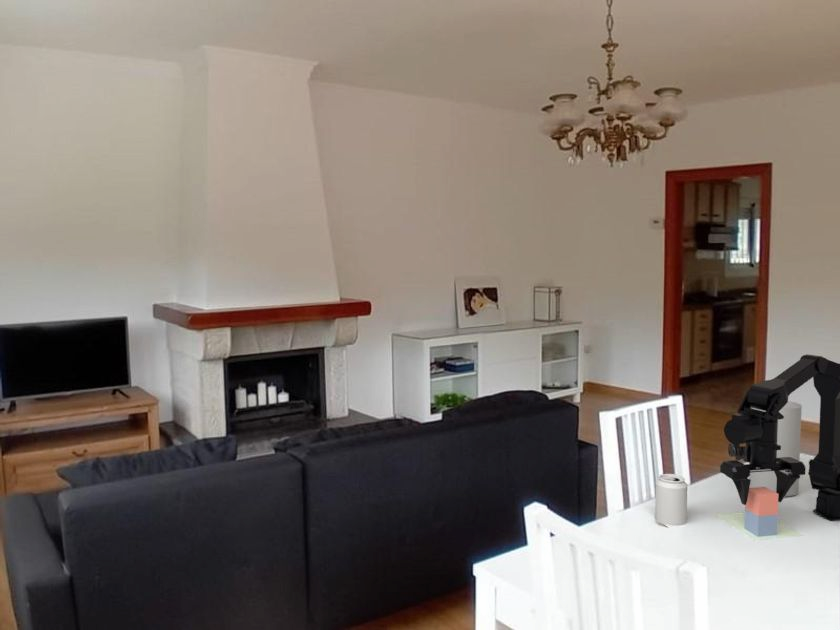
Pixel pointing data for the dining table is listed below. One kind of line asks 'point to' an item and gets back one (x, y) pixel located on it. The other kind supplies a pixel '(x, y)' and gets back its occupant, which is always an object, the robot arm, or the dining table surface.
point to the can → (671, 500)
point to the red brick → (762, 501)
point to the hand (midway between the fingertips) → (761, 503)
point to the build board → (739, 523)
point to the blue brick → (761, 524)
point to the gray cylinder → (783, 447)
